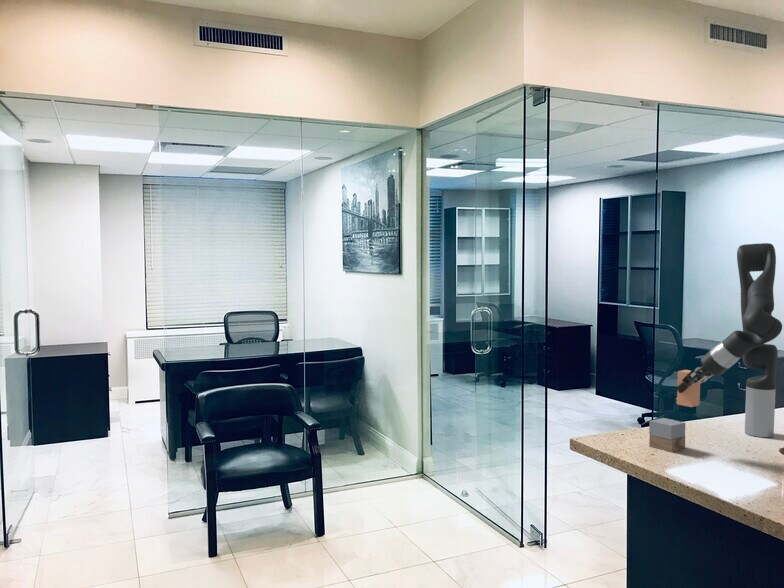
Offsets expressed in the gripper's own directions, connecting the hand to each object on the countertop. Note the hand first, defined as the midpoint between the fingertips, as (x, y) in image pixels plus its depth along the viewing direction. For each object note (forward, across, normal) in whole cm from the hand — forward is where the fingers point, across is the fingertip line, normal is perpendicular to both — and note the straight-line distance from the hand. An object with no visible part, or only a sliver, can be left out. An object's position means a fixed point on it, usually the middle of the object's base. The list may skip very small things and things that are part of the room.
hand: (682, 389), depth 207 cm
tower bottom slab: (+17, +2, +12) cm, 21 cm away
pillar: (+2, 0, +5) cm, 5 cm away
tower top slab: (+14, +2, +8) cm, 16 cm away
